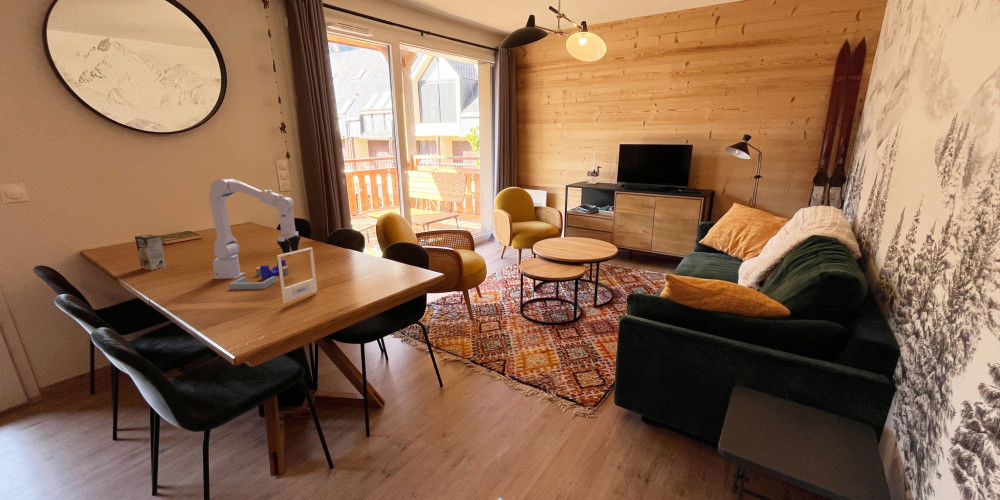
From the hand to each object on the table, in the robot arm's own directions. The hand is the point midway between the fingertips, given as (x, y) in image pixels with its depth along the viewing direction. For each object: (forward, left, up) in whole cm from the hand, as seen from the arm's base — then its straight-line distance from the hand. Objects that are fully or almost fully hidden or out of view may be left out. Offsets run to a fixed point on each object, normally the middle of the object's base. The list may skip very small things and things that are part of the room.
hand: (291, 253), depth 182 cm
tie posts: (-10, +1, -10) cm, 14 cm away
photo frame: (+17, -31, -10) cm, 36 cm away
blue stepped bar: (-9, +1, -10) cm, 14 cm away
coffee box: (-75, +17, -10) cm, 77 cm away
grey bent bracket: (-10, -15, -10) cm, 21 cm away
